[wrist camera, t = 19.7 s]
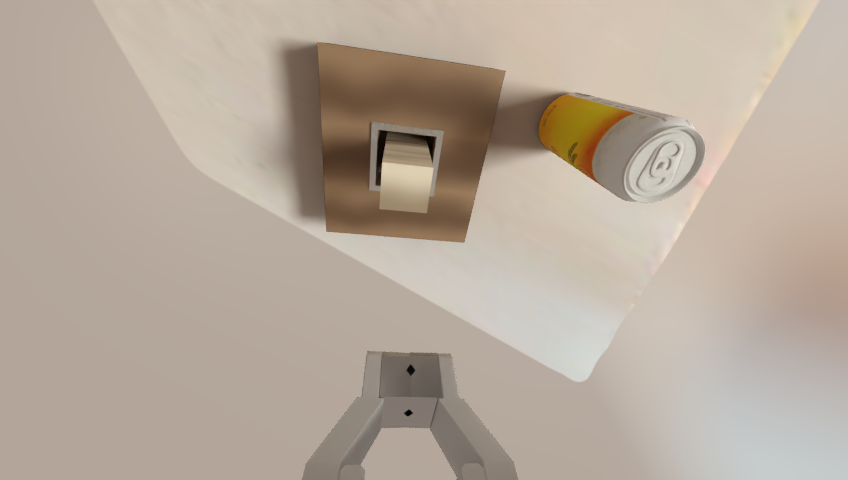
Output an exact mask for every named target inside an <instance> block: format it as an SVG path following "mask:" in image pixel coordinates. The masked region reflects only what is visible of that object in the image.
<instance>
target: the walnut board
mask: <svg viewBox="0 0 848 480" xmlns="http://www.w3.org/2000/svg"><path fill="white" fill-rule="evenodd" d="M317 43H318V64H319V85H320V106H321V127H322V148H323V169H324V190H325V210H326V231H327V232H338V233H351V234H363V235H376V236H388V237H401V238H413V239H426V240H439V241H451V242H465V238H466V233H467V229H468V225H469V221H470V217H471V213H472V209H473V204H474V200H475V196H476V192H477V188H478V184H479V180H480V175H481V171H482V167H483V163H484V159H485V155H486V150H487V146H488V142H489V138H490V134H491V130H492V126H493V121H494V117H495V113H496V109H497V105H498V101H499V97H500V92H501V88H502V84H503V80H504V76H505V72H506V71H503V70H498V69H493V68H486V67H480V66H473V65H467V64H460V63H454V62H447V61H440V60H434V59H427V58H421V57H414V56H408V55H401V54H395V53H388V52H382V51H375V50H369V49H362V48H356V47H349V46H343V45H336V44H330V43H320V42H317ZM380 130H385V131H394V132H402V133H410V134H418V135H426V136H432V138H431V145H430V156H431V160H432V163H433V167H434V169H433V175H432V182H431V188H430V195H429V202H428V208H427V213H418V212H407V211H396V210H385V209H379V207H380V190H381V173H382V172H378V164H379V145H380Z"/></svg>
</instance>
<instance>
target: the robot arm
mask: <svg viewBox="0 0 848 480" xmlns="http://www.w3.org/2000/svg"><path fill="white" fill-rule="evenodd" d="M381 359H382V360H381ZM399 427H409V428H430V430H431V432H432V434H433V435H434V437H435V439H436V441H437V442H438V444H439V446H440V448H441V449H442V451H443V453H444V455H445V457H446V458H447V460H448V462H449V464H450V466H451V467H452V469H453V471H454V472H455V474H456V476H457V480H518V477H517V473H516V470H515V466H514V462H513V461H512V459H511V458H510V457H509V456H508V454H507V453H506V452H505V451H504V450H503V448H502V447H501V446H500V444H499V443H498V442H497V440H496V439H495V438H494V437H493V435H492V434H491V433H490V432H489V430H488V429H487V428H486V427H485V425H484V424H483V423H482V421H481V420H480V419H479V418H478V416H477V415H476V414H475V413H474V411H473V410H472V409H471V408H470V406H469V405H468V404H467V403H466V401H465V400H464V399H459V393H458V387H457V381H456V375H455V368H454V363H453V357H452V355H451V354H437V353H398V352H381V351H380V352H378V351H367V355H366V364H365V372H364V380H363V389H362V397H357V398H356V399H355V401H354V402H353V403H352V405H351V406H350V407H349V409H348V410H347V411H346V412H345V414H344V415H343V416H342V418H341V419H340V420H339V422H338V423H337V424H336V425H335V427H334V428H333V429H332V430H331V432H330V433H329V434H328V436H327V437H326V438H325V440H324V441H323V442H322V444H321V445H320V446H319V447H318V449H317V450H316V452H314V454H313V455H312V456H311V458H310V459H309V460H308V462H307V463H306V466H305V470H304V474H303V478H302V480H364V474H365V470H364V469H363V467H362V466H361V465H360V464H361V463H362V461H363V459H364V458H365V456H366V454H367V452H368V451H369V449H370V447H371V446H372V444H373V442H374V440H375V439H376V437H377V435H378V433H379V432H380V430H381V428H399Z"/></svg>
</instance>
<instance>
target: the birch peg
mask: <svg viewBox="0 0 848 480" xmlns="http://www.w3.org/2000/svg"><path fill="white" fill-rule="evenodd" d="M433 169H434V167H433V163H432V160H431V156H430V152H429V148H428V144H427V141H426V137H425V135H418V134H410V133H402V132H394V131H388V133H387V138H386V144H385V149H384V155H383V160H382V173H381V190H380V207H379V209H385V210H396V211H407V212H418V213H427V208H428V202H429V195H430V188H431V182H432V175H433Z"/></svg>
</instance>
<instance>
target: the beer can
mask: <svg viewBox="0 0 848 480" xmlns="http://www.w3.org/2000/svg"><path fill="white" fill-rule="evenodd" d="M539 137H540V140H541V142H542V144H543V145H544V146H545V147H546V148H547V149H549V150H550V151H552V152H553V153H554V154H556V155H557V156H559V157H560V158H562V159H563V160H565V161H566V162H568V163H569V164H571V165H572V166H573V167H575V168H576V169H578V170H579V171H581V172H582V173H584V174H585V175H587V176H588V177H590V178H591V179H593V180H594V181H595V182H597V183H598V184H600V185H601V186H603V187H604V188H606V189H607V190H609V191H610V192H612V193H613V194H614V195H616V196H617V197H619V198H621V199H623V200H626V201H632V202H641V203H654V202H659V201H662V200H665V199H667V198H669V197H671V196H673V195H675V194H676V193H678V192H679V191H681V190H682V189H683V188H684V187H686V186H687V185H688V184H689V183H690V182H691V181H692V179H693V178H694V177H695V176H696V174H697V173H698V171H699V170H700V168H701V166H702V164H703V161H704V158H705V154H706V144H705V140H704V138H703V136H702V135H701V134H700V133H699V132H698V131H697V130H696V129H695V128H694V126H693V125H692V124H691V123H690V122H689V121H687V120H685V119H683V118H680V117H676V116H672V115H667V114H663V113H659V112H655V111H651V110H647V109H643V108H639V107H635V106H631V105H626V104H622V103H618V102H614V101H610V100H606V99H602V98H598V97H594V96H590V95H585V94H581V93H568V94H565V95H562V96H560V97H559V98H557V99H556V100H554V101H553V102H552V103H551V104H550V105H549V106H548V107H547V109H546V110H545V112H544V113H543V115H542V117H541V120H540V124H539Z"/></svg>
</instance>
